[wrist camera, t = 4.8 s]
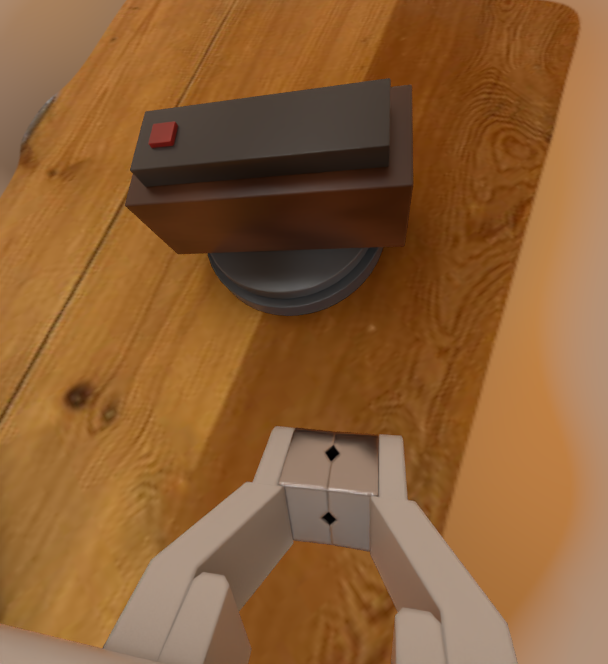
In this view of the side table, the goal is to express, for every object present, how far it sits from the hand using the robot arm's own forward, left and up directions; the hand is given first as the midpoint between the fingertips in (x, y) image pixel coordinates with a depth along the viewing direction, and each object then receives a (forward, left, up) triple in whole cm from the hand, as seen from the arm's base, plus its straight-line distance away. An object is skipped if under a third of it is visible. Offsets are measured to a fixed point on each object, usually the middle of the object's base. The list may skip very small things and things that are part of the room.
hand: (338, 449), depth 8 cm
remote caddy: (+13, +5, -10) cm, 17 cm away
